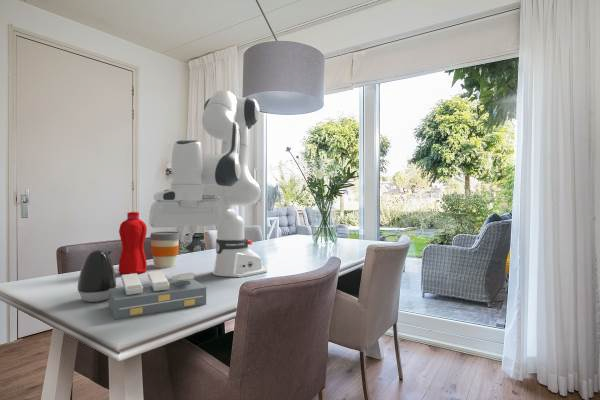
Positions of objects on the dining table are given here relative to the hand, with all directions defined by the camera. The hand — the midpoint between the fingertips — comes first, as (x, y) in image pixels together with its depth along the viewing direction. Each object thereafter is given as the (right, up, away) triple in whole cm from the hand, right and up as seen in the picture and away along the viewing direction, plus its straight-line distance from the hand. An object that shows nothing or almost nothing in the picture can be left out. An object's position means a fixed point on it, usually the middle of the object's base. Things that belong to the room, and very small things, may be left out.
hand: (186, 242), depth 103 cm
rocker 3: (-2, -11, +3) cm, 12 cm away
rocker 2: (-8, -11, -1) cm, 14 cm away
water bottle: (-36, -18, +41) cm, 57 cm away
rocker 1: (-14, -11, -5) cm, 18 cm away
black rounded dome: (-28, -18, +4) cm, 34 cm away
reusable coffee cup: (-28, -18, +55) cm, 65 cm away
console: (-8, -18, -1) cm, 20 cm away
